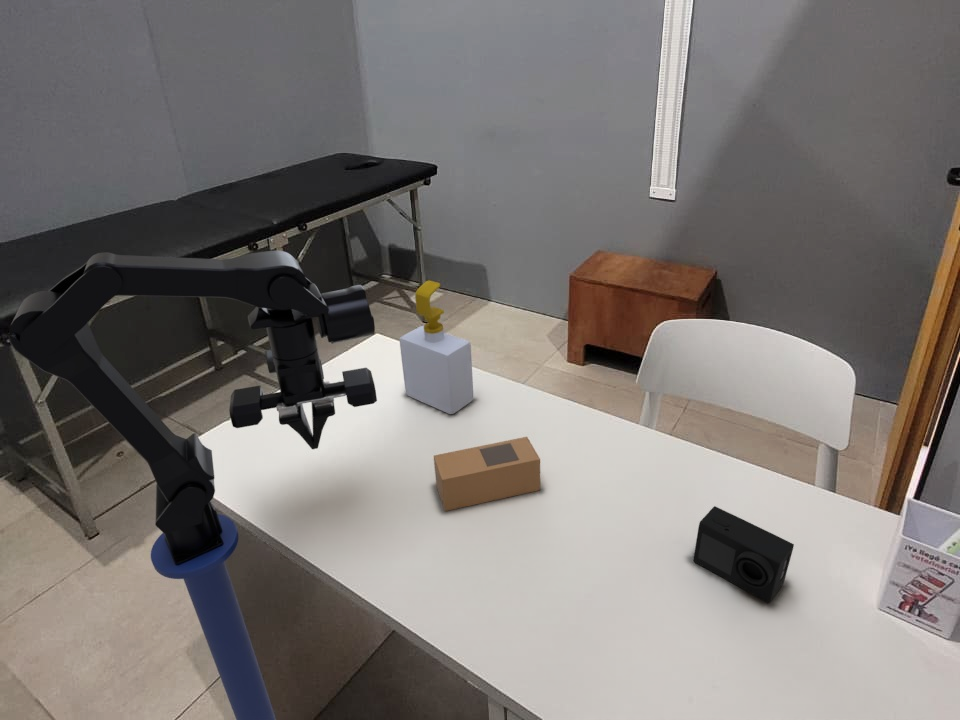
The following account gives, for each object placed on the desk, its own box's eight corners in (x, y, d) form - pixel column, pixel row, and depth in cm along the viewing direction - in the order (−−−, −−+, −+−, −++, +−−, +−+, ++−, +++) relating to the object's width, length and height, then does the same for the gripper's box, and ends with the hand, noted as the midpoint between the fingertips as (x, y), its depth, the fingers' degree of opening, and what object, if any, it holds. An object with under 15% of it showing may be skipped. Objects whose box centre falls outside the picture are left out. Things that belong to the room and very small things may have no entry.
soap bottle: (475, 400, 122) (469, 285, 111) (452, 416, 118) (443, 298, 106) (427, 381, 129) (417, 270, 118) (404, 395, 125) (391, 282, 113)
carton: (442, 479, 93) (540, 458, 96) (433, 455, 98) (527, 436, 101) (444, 511, 96) (540, 490, 99) (436, 486, 101) (527, 466, 104)
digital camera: (687, 566, 85) (693, 526, 82) (707, 543, 89) (713, 504, 85) (765, 610, 79) (775, 569, 75) (783, 583, 82) (794, 543, 79)
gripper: (360, 313, 92) (373, 405, 100) (223, 334, 88) (248, 428, 96) (369, 348, 83) (383, 446, 91) (217, 373, 79) (245, 474, 87)
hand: (314, 447), depth 91 cm, fingers closed
